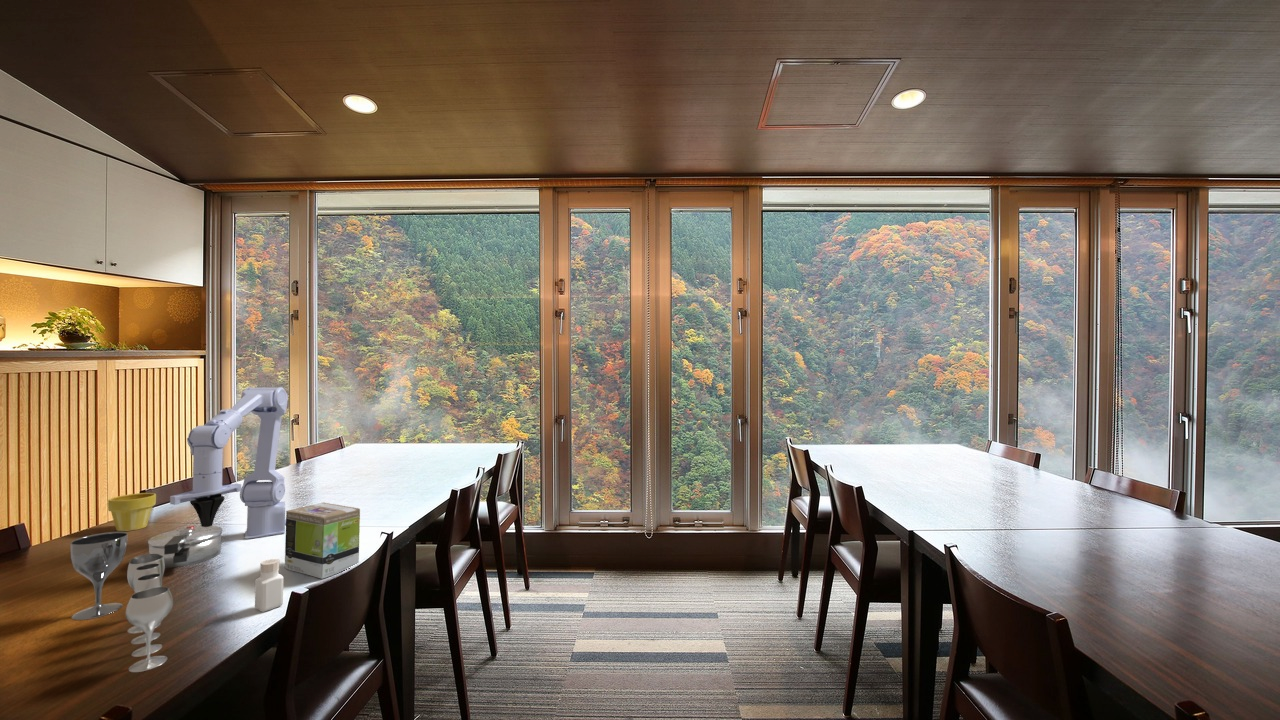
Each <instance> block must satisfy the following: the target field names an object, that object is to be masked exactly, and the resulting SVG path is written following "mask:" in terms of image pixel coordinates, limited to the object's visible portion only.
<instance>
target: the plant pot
mask: <svg viewBox="0 0 1280 720" xmlns="http://www.w3.org/2000/svg"><path fill="white" fill-rule="evenodd" d="M107 502H108V503H107V507H108V509H107V510H108V511H109V512H111V515H112V520H113V523H114V527H115V530H116V532H131V531H136V530H141V529H144V528H146V527H147V526H148V524H149V519H150V517H151V513H152V509H153V507H154V506H155V505H156V502H157V493H154V492H141V493H131V494H123V495H118V496H114V497H111V498H109V499H108V501H107Z"/></svg>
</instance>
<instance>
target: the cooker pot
mask: <svg viewBox="0 0 1280 720" xmlns="http://www.w3.org/2000/svg"><path fill="white" fill-rule="evenodd" d="M221 549H222V534H221V535H219V536H217V537H215V538H212V539H210V540H206V541H203V542H199V543H195V544H190V545H185V546H184V547H183V548H182V549H181V550H180V551H179V552H178V553H173V554H166V555H164V547H151V546H149V545H148V554H160V555H162V556H163V557H164V563H165V569H169V568H170V569H171V568H179V567H184V566H191V565H194V564H199V563H203V562H205V561H209V560H211V559H213V558H215V557H217V556H218V555H220V554H221Z"/></svg>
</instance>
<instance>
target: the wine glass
mask: <svg viewBox="0 0 1280 720" xmlns="http://www.w3.org/2000/svg"><path fill="white" fill-rule="evenodd" d="M127 547H128V532H127V531H108V532H102V533H101V532H100V533H94V534H90V535H86V536H82V537H78V538H77V539H74V540H72V541H71V542H70V559H71V563H72V567H73V569H74V570H75V571H76V572H77V573H78V574H80V575H82V576H83V577H85V578H86V579H88V580H89V581H90V583H92V585H93V588H94V593H95V594H94V595H95V596H94V597H95V598H94V599H95V601H94V605H93V606H90V607H87V608H85V609H82V610H80V611H77V612H76V613H74V614H73V615H72V616H71V619H72V620H74V621H85V620H86V621H87V620H92V619H97V618H101V617H105V616H108V615H111V614H112V612H113V613H115V612H117V611H119V610H120V609H119V608H121V607H122V608H123V606H124V605H123V604H122V603H119V602H110V603H103V604H102V591H103V586H104V582H105V581H106V580H107V578H108V577H109V575H111V574H112V572H113V571H114V570H115V569H117V568H118V566H120V564H121V563H122V562H123V560H124V557H125V554H126V550H127ZM122 608H121V609H122ZM118 609H119V610H118ZM114 611H115V612H114ZM110 613H111V614H110Z"/></svg>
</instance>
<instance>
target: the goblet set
mask: <svg viewBox="0 0 1280 720" xmlns="http://www.w3.org/2000/svg"><path fill="white" fill-rule="evenodd" d="M165 569H166V568H165V563H164V557H163V556H162V555H160V554H149V553H148V554H142V555H138V556H135V557H133V558H131V559H130V560H129V562H128V566H127V569H126V570H127V571H126V577H127V582H128V585H129V586H130V589H132V590H133V592H134V593H133V594H132V595H131V597H130V598H129V601H128V603H127V605H126V609H125V618H126V620H127V622H128V623H129V624H131V625H133V626H131V627H129V629H127V633H128V634H141V633H144V634H141V635H139V636H136V637H134V638H133V639H132V640H131V641H130V644H132V645H140V644H145V646H142V647H139V648H137V649H136V650H134V651H132V652H131V656H132V657H134V658H137V657H138V658H139V657H145V656H146V658H143V659H141V660H139V661H136V662H135V663H133V664H132V665H131V666H129V668H128V671H129V672H131V673H139V672H140V673H141V672H144V671H149V670H153V669H155V668H157V667H159V666H161V665H163V664H165V662H167V660H168V657H167V656H166V655H154V656H151V654H154V653H156V652H158V651H159V650H161V649H162V648H163V645H162V644H157V643H155V644H151V643H152V641H153V640H156V639H159V637H160V636H161V633H160V632H154V631H155V629H156V628H158V627H160V626H161V625H162V621H163V620H164V619H165V618H166V617H167V616H168V615H169V613H170V612H171V611H172V609H173V605H174V598H173V594H172V593H171V590H170V588H169V587H167V586H163V581H162V579H163V577H164V573H165Z"/></svg>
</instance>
